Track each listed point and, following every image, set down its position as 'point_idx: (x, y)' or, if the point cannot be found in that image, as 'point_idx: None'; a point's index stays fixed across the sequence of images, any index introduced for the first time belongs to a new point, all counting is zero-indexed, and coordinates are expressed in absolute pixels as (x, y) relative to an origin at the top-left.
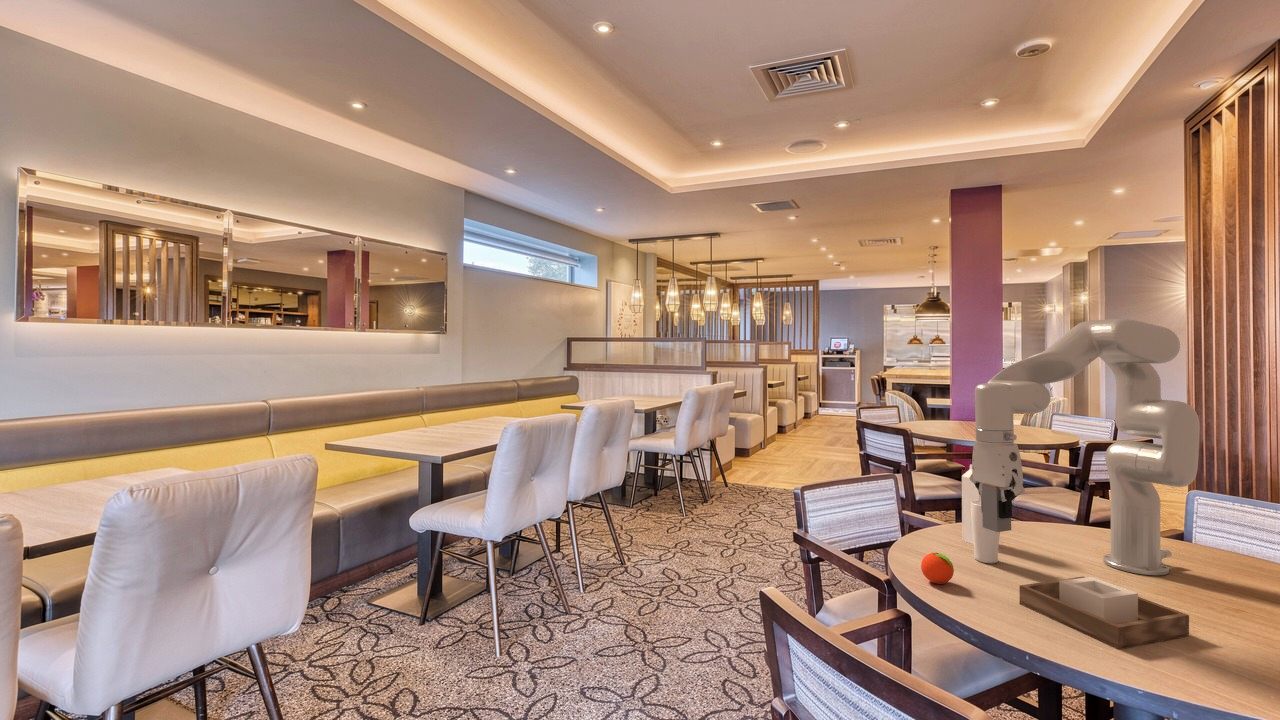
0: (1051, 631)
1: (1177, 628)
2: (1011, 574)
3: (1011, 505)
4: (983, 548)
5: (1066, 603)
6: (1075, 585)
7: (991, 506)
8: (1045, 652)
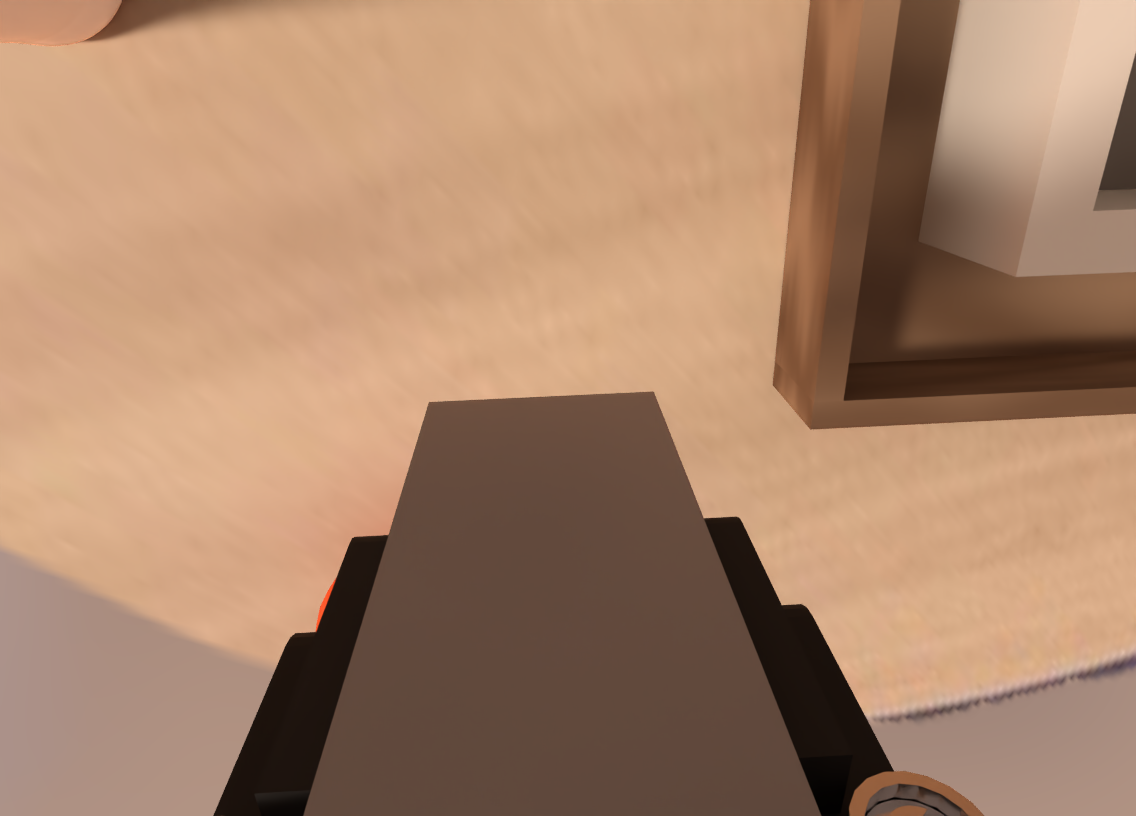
0: (1024, 481)
1: None
2: (370, 11)
3: (869, 729)
4: (35, 21)
5: (1094, 390)
6: (1115, 235)
7: None
8: (1100, 630)
